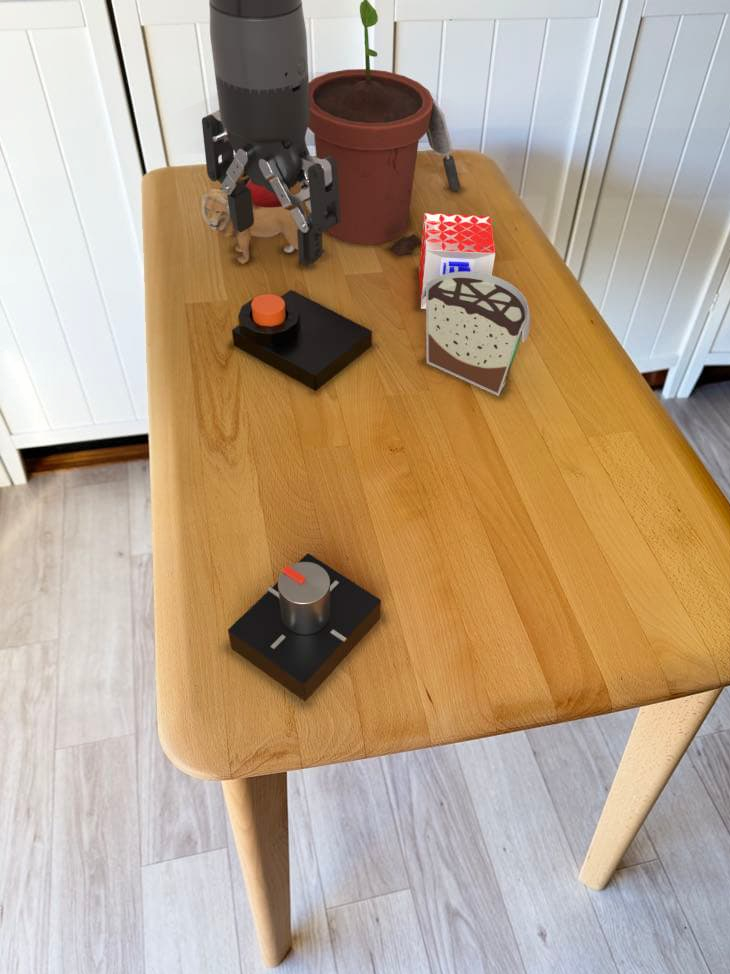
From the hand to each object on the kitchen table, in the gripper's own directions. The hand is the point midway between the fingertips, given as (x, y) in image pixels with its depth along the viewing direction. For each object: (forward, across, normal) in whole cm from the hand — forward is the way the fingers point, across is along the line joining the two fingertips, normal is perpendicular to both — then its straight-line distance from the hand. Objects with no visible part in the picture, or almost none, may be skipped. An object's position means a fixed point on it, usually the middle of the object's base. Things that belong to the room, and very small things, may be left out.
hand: (276, 244), depth 78 cm
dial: (+12, +25, -25) cm, 37 cm away
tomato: (+15, -24, +21) cm, 36 cm away
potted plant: (+16, -11, +32) cm, 37 cm away
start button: (+11, -4, +2) cm, 12 cm away
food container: (+15, +16, +14) cm, 26 cm away
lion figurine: (+15, -16, +13) cm, 26 cm away
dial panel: (+15, +25, -25) cm, 38 cm away
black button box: (+15, -1, +4) cm, 15 cm away
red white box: (+16, +6, +24) cm, 29 cm away
